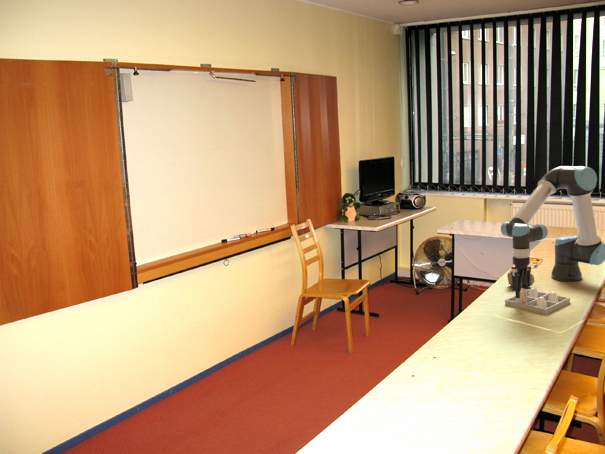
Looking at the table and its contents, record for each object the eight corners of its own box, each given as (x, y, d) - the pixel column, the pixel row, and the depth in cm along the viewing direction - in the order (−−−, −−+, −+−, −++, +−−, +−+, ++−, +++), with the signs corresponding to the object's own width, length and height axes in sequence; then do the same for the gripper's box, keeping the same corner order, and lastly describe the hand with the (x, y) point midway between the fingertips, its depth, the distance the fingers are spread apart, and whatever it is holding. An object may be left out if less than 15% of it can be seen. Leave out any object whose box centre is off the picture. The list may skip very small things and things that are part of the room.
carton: (529, 295, 268) (529, 289, 268) (570, 303, 252) (570, 297, 251) (505, 305, 257) (505, 299, 256) (546, 315, 240) (546, 309, 239)
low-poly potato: (500, 286, 286) (507, 282, 275) (503, 267, 289) (510, 263, 278) (529, 293, 284) (536, 289, 273) (531, 274, 287) (539, 269, 276)
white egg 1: (531, 296, 264) (531, 285, 263) (539, 298, 260) (539, 287, 259) (526, 298, 262) (526, 288, 260) (534, 300, 258) (534, 289, 257)
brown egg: (520, 301, 258) (519, 290, 257) (527, 303, 255) (527, 292, 254) (515, 303, 256) (514, 292, 255) (523, 305, 252) (522, 294, 251)
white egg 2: (539, 306, 250) (539, 295, 249) (548, 308, 247) (548, 296, 245) (534, 308, 248) (534, 297, 246) (543, 310, 244) (543, 299, 243)
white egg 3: (551, 301, 256) (551, 289, 255) (559, 303, 252) (559, 291, 251) (546, 303, 253) (546, 292, 252) (554, 305, 250) (554, 293, 249)
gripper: (524, 251, 259) (524, 296, 263) (503, 258, 249) (504, 305, 253) (538, 253, 253) (538, 300, 257) (517, 261, 243) (518, 309, 247)
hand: (521, 302), depth 255 cm, fingers closed on brown egg, 4 cm apart
